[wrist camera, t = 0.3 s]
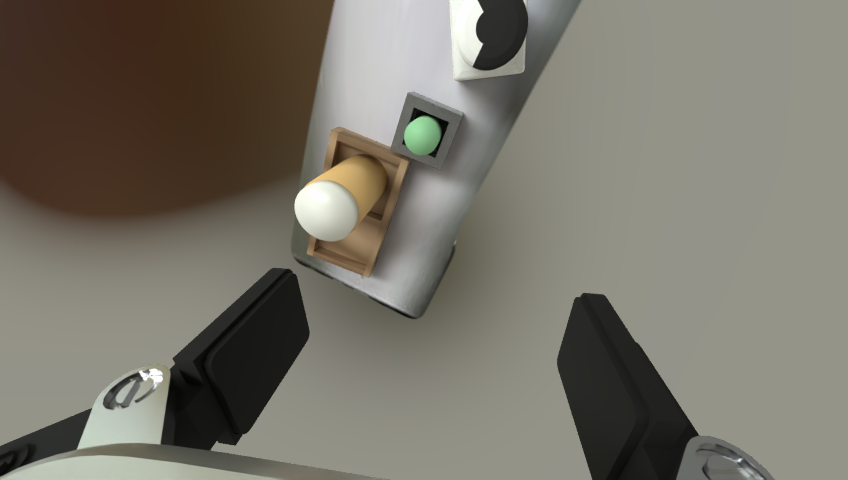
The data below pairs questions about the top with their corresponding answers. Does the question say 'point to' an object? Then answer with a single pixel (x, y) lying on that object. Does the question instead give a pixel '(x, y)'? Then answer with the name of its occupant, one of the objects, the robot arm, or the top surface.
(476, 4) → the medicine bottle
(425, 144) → the button
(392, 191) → the wooden tray
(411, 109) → the button pedestal
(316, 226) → the bottle
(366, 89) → the top surface
